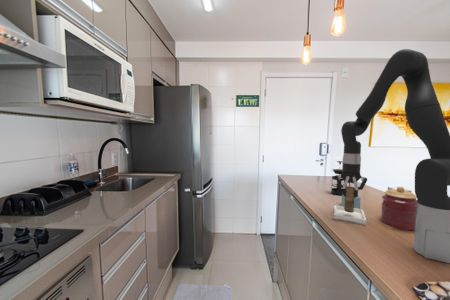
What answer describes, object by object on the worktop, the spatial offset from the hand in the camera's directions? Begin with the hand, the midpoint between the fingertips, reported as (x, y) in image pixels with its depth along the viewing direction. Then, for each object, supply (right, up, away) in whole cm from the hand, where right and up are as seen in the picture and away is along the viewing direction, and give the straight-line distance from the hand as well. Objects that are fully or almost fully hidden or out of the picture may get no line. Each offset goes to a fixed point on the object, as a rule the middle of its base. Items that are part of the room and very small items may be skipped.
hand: (349, 196), depth 101 cm
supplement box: (+31, -10, +8) cm, 33 cm away
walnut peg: (0, -7, +1) cm, 7 cm away
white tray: (0, -10, +1) cm, 10 cm away
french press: (+17, -8, +38) cm, 43 cm away
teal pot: (+9, -9, +13) cm, 18 cm away
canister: (+18, -11, -8) cm, 22 cm away
